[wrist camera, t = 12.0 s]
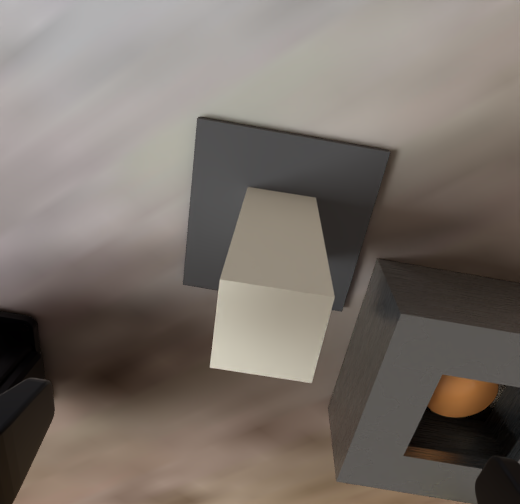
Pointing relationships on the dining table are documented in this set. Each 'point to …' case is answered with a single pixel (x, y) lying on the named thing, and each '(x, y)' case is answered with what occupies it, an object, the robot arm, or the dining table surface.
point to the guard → (426, 381)
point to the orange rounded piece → (461, 396)
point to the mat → (281, 180)
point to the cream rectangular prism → (274, 289)
